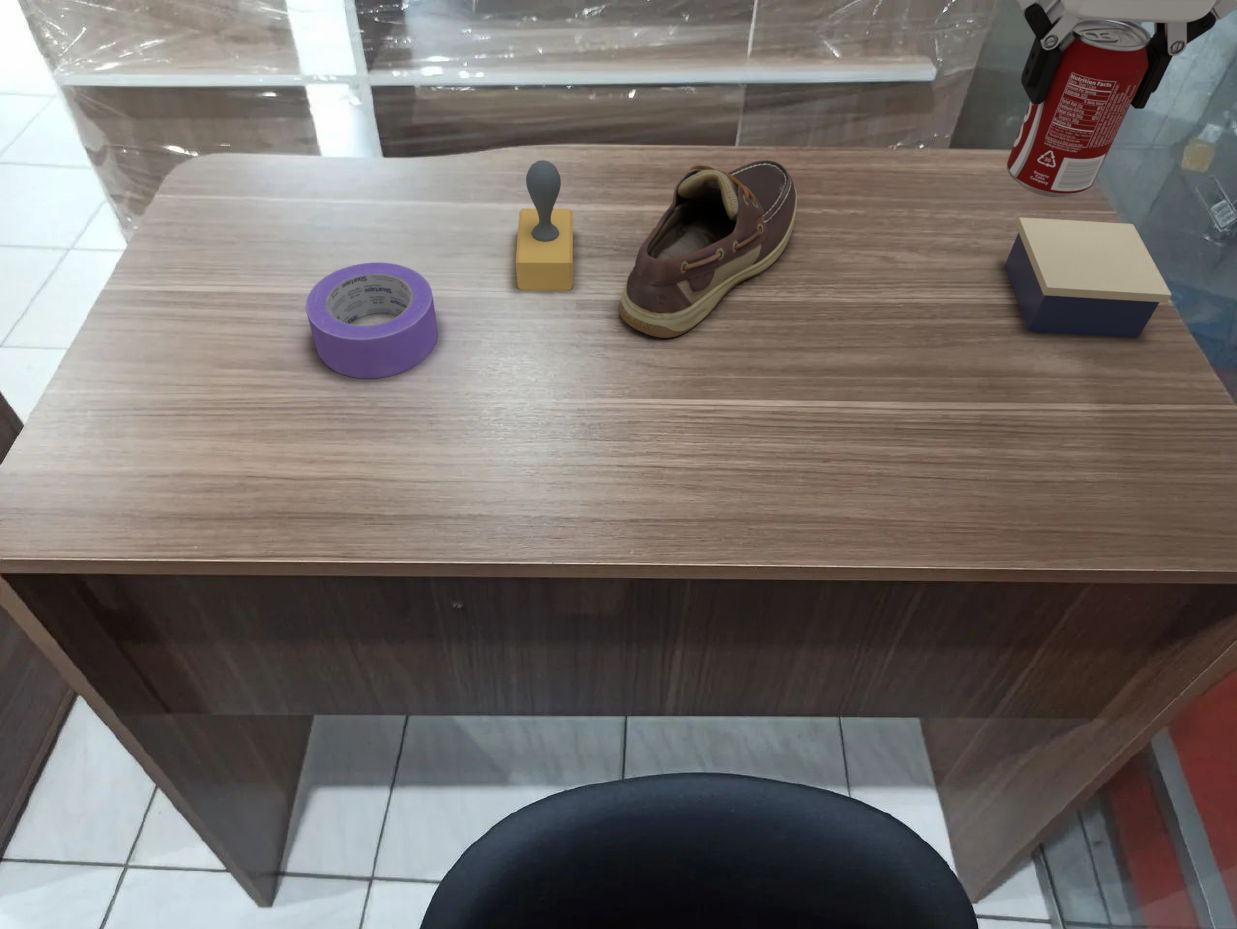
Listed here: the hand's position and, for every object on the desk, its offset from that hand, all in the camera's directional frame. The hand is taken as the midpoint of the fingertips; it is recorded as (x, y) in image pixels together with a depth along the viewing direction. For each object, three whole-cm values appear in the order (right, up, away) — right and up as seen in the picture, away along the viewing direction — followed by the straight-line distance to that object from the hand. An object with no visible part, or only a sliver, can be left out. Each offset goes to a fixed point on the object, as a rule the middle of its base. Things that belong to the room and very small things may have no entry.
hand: (1082, 96), depth 68 cm
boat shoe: (-25, -6, +31) cm, 40 cm away
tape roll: (-59, -15, +21) cm, 64 cm away
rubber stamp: (-43, -6, +30) cm, 53 cm away
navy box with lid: (+13, -10, +28) cm, 32 cm away
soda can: (0, -5, +5) cm, 7 cm away
